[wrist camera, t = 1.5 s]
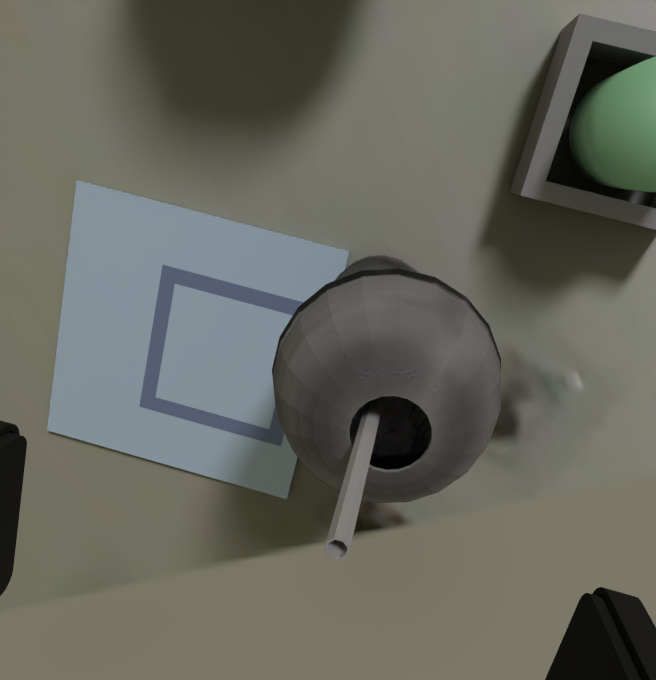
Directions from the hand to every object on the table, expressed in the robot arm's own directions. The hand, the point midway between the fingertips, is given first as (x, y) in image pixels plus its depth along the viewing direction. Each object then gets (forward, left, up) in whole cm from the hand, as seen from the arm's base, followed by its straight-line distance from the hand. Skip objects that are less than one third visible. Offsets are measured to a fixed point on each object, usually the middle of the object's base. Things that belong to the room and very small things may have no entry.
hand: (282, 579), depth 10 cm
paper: (+9, +5, -22) cm, 24 cm away
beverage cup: (0, 0, -22) cm, 22 cm away
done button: (-8, -10, -20) cm, 24 cm away
